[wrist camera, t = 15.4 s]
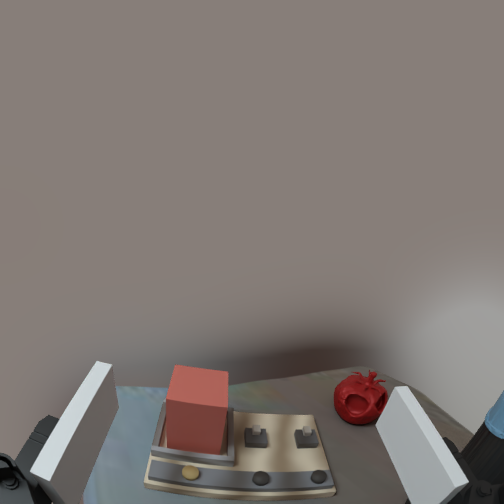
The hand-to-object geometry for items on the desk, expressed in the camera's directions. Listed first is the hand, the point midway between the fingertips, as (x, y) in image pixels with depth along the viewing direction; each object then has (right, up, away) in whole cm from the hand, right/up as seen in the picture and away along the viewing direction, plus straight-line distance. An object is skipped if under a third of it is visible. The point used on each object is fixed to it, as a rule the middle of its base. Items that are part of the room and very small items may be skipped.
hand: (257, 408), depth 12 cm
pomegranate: (+18, -22, +35) cm, 45 cm away
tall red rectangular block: (-8, -19, +24) cm, 32 cm away
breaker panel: (-2, -22, +23) cm, 32 cm away
